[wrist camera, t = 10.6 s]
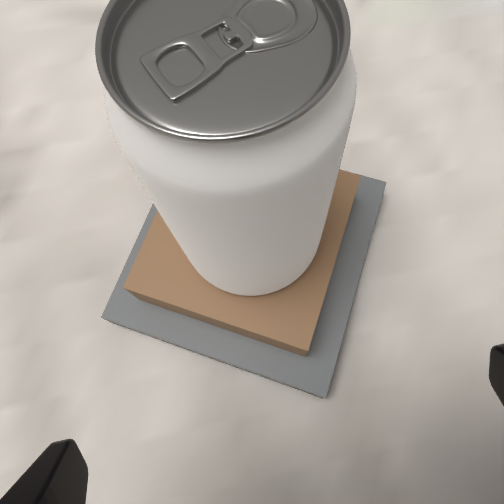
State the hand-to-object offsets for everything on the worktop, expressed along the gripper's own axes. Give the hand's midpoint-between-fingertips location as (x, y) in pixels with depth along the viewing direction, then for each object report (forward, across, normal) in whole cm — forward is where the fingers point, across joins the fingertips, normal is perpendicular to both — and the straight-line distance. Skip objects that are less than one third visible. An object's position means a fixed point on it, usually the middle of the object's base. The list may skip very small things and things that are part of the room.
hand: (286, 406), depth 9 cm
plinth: (+15, 0, +4) cm, 16 cm away
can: (+12, 0, +1) cm, 13 cm away
